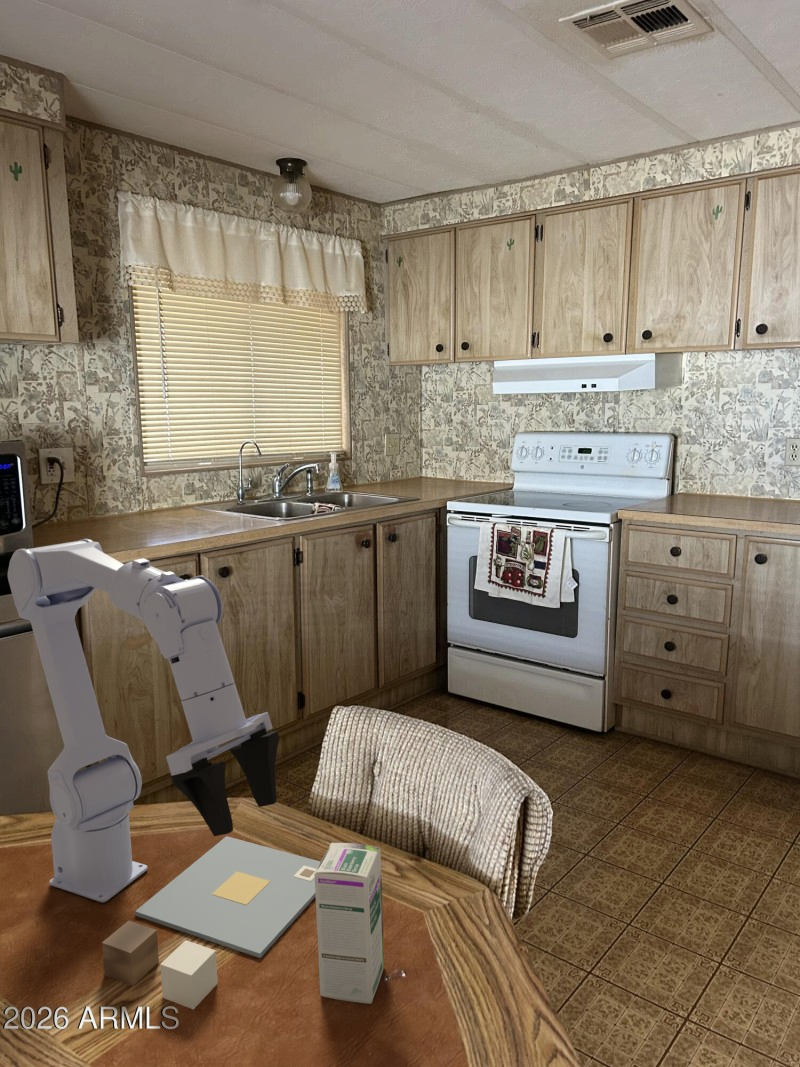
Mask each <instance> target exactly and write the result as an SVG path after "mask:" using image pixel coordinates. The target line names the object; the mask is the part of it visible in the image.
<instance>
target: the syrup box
mask: <svg viewBox="0 0 800 1067" xmlns="http://www.w3.org/2000/svg"><path fill="white" fill-rule="evenodd" d="M381 850H382V849H381V848H380V847H379V846H375V845H367V844H360V843H351V842H331V843H330V845H329V847H328V848H327V850H326V852H325V853H324V856H322V859H321V860H320V864H319V866H318V868H317V870H316V872H315V874H314V876H315V895H316V897H315V916H316V919H315V920H316V937H317V938H316V940H317V955H318V956H317V959H318V975H319V976H318V982H319V995H320V996H321V997H323V998H329V999H334V1000H338V1001H339V1000H340V1001H345V1002H346V1001H347V1002H353V1003H361V1004H369V1005H371V1004H373V1000H374V998H375V995H376V992H377V990H378V986H379V984H380V980H381V977H382V974H383V972H384V968H385V948H384V947H385V944H384V943H385V942H384V914H383V912H384V911H383V910H384V909H383V887H382V886H383V883H382V882H383V879H382V855H381V854H382V852H381Z"/></svg>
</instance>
